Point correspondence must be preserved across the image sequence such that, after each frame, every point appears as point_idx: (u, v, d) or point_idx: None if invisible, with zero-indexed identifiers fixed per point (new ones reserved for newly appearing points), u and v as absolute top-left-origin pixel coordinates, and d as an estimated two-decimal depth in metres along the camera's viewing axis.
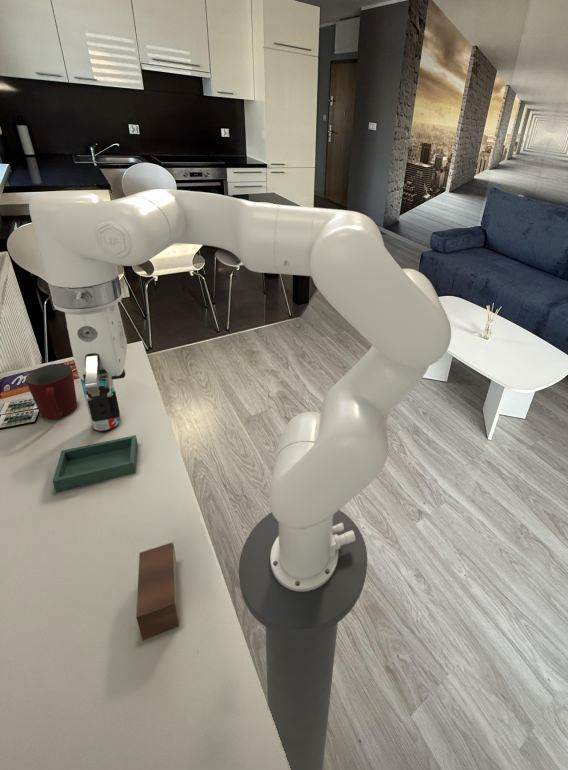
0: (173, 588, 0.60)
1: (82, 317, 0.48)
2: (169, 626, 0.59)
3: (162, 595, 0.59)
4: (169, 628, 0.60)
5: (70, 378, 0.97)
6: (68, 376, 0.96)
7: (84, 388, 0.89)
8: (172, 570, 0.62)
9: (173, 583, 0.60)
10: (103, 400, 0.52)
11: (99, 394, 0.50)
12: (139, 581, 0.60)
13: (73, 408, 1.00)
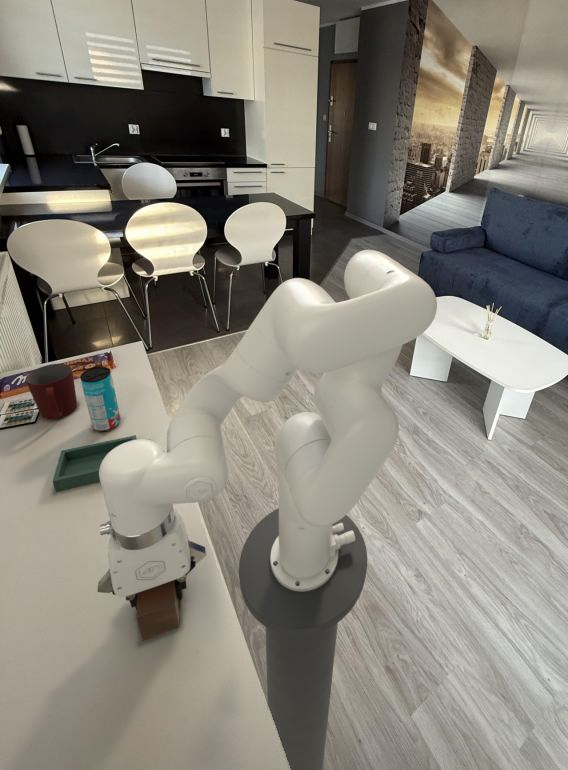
0: (173, 588, 0.60)
1: (110, 537, 0.55)
2: (169, 626, 0.59)
3: (162, 595, 0.59)
4: (169, 628, 0.60)
5: (70, 378, 0.97)
6: (68, 376, 0.96)
7: (84, 388, 0.89)
8: None
9: (173, 583, 0.60)
10: None
11: (113, 592, 0.58)
12: None
13: (73, 408, 1.00)
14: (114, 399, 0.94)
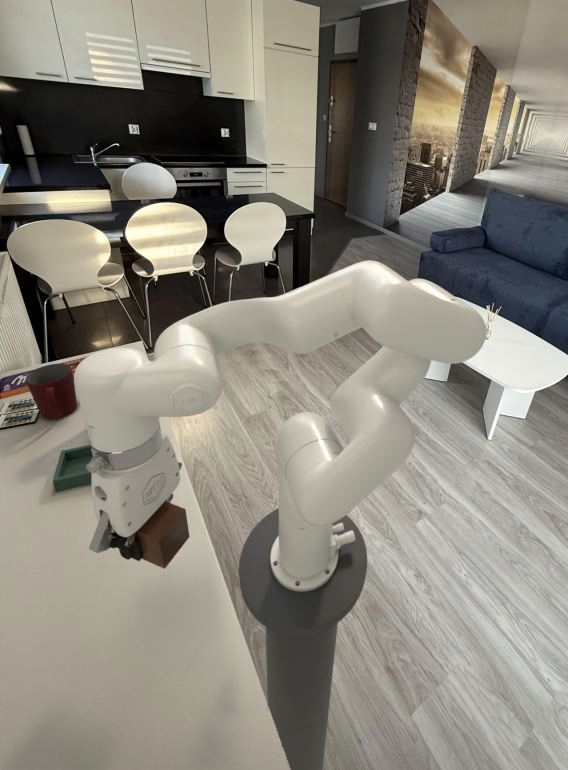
0: (171, 504, 0.56)
1: (98, 477, 0.47)
2: (182, 540, 0.57)
3: (166, 514, 0.55)
4: (183, 542, 0.57)
5: (70, 378, 0.97)
6: (68, 376, 0.96)
7: None
8: None
9: (167, 502, 0.57)
10: (123, 545, 0.52)
11: (110, 547, 0.50)
12: None
13: (73, 408, 1.00)
14: None
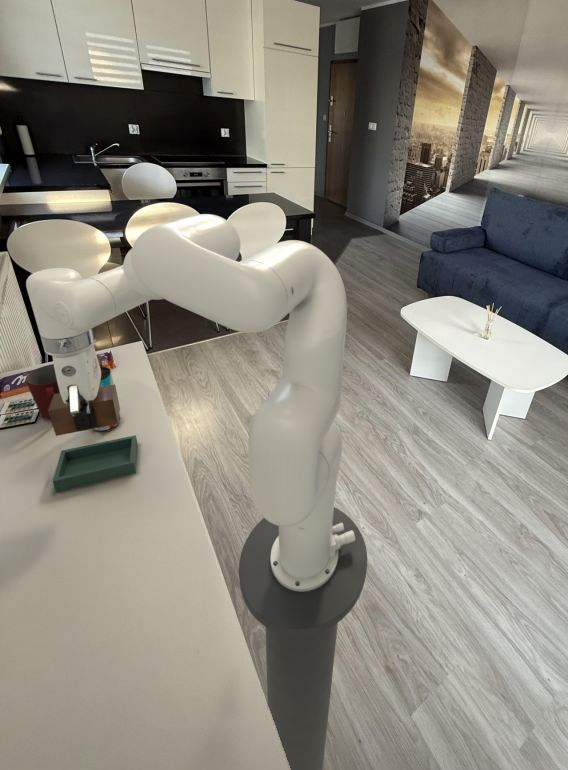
0: (102, 386, 0.78)
1: (64, 359, 0.67)
2: (118, 408, 0.80)
3: (104, 390, 0.77)
4: (119, 410, 0.80)
5: None
6: None
7: None
8: None
9: None
10: (84, 416, 0.73)
11: (81, 413, 0.70)
12: (80, 404, 0.73)
13: None
14: None
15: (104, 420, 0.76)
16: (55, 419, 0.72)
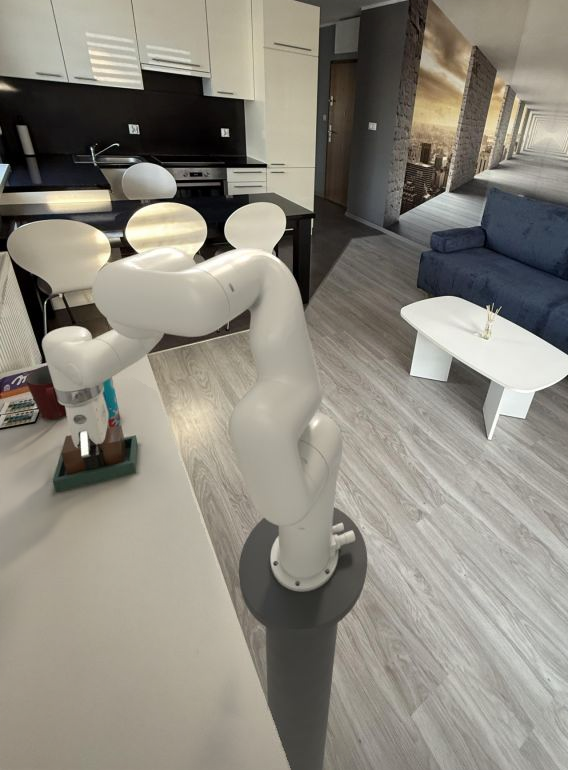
0: None
1: (76, 409, 0.74)
2: (124, 446, 0.87)
3: (111, 432, 0.84)
4: (124, 448, 0.87)
5: None
6: None
7: None
8: None
9: None
10: (93, 457, 0.80)
11: (90, 455, 0.78)
12: (90, 446, 0.80)
13: None
14: (114, 399, 0.94)
15: (111, 459, 0.83)
16: (67, 460, 0.79)
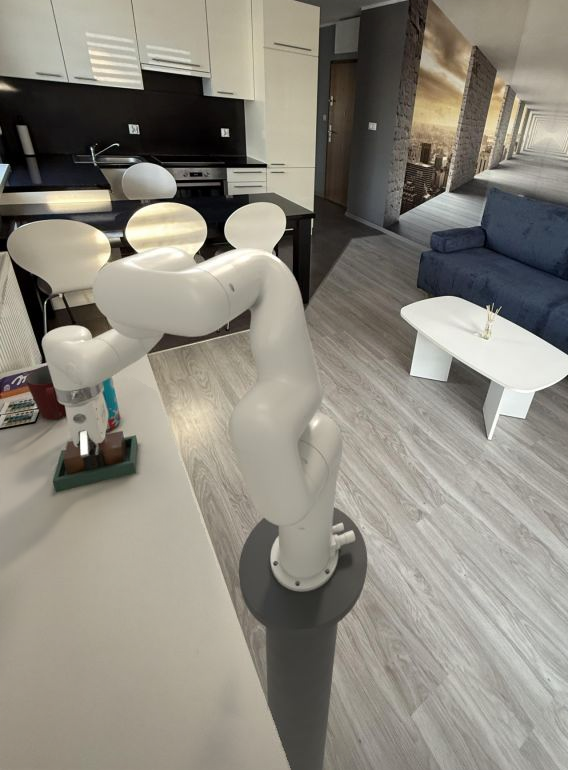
0: (110, 433, 0.86)
1: (76, 408, 0.74)
2: (125, 452, 0.88)
3: (112, 437, 0.85)
4: (126, 454, 0.88)
5: None
6: None
7: None
8: None
9: (106, 434, 0.85)
10: (92, 457, 0.80)
11: (90, 455, 0.77)
12: None
13: None
14: (114, 399, 0.94)
15: None
16: (69, 466, 0.80)
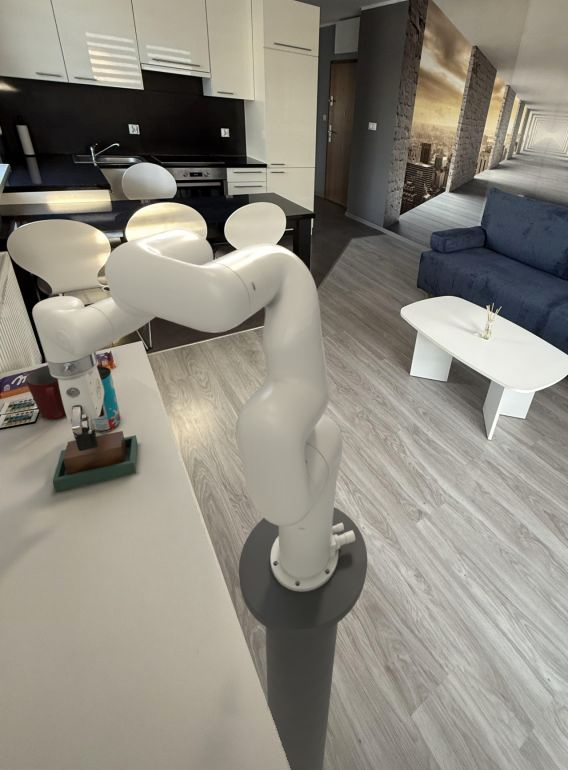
0: (110, 433, 0.86)
1: (69, 381, 0.71)
2: (125, 452, 0.88)
3: (112, 437, 0.85)
4: (126, 454, 0.88)
5: None
6: None
7: None
8: None
9: (106, 434, 0.85)
10: (85, 436, 0.75)
11: (82, 433, 0.73)
12: (91, 452, 0.81)
13: None
14: (114, 399, 0.94)
15: None
16: (69, 466, 0.80)
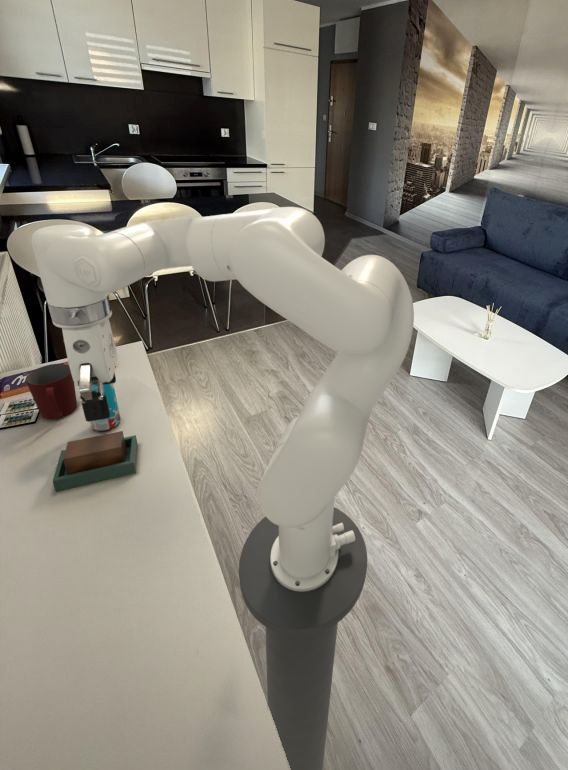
0: (110, 433, 0.86)
1: (76, 332, 0.57)
2: (125, 452, 0.88)
3: (112, 437, 0.85)
4: (126, 454, 0.88)
5: (70, 378, 0.97)
6: (68, 376, 0.96)
7: None
8: (95, 437, 0.85)
9: (106, 434, 0.85)
10: (95, 403, 0.60)
11: (91, 398, 0.58)
12: (91, 452, 0.81)
13: (73, 408, 1.00)
14: (114, 399, 0.94)
15: None
16: (69, 466, 0.80)
